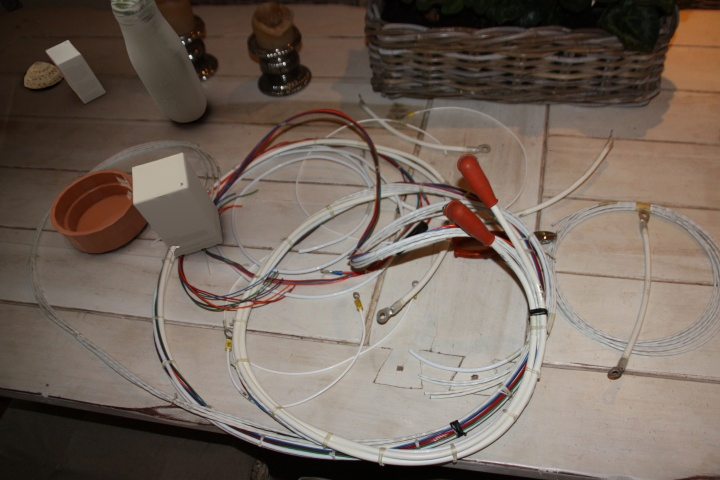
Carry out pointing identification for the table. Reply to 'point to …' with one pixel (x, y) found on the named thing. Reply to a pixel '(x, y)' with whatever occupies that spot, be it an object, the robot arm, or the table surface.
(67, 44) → the small box
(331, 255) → the table surface
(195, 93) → the glass bottle
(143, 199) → the white product box
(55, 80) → the seashell
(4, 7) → the robot arm
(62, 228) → the bowl
